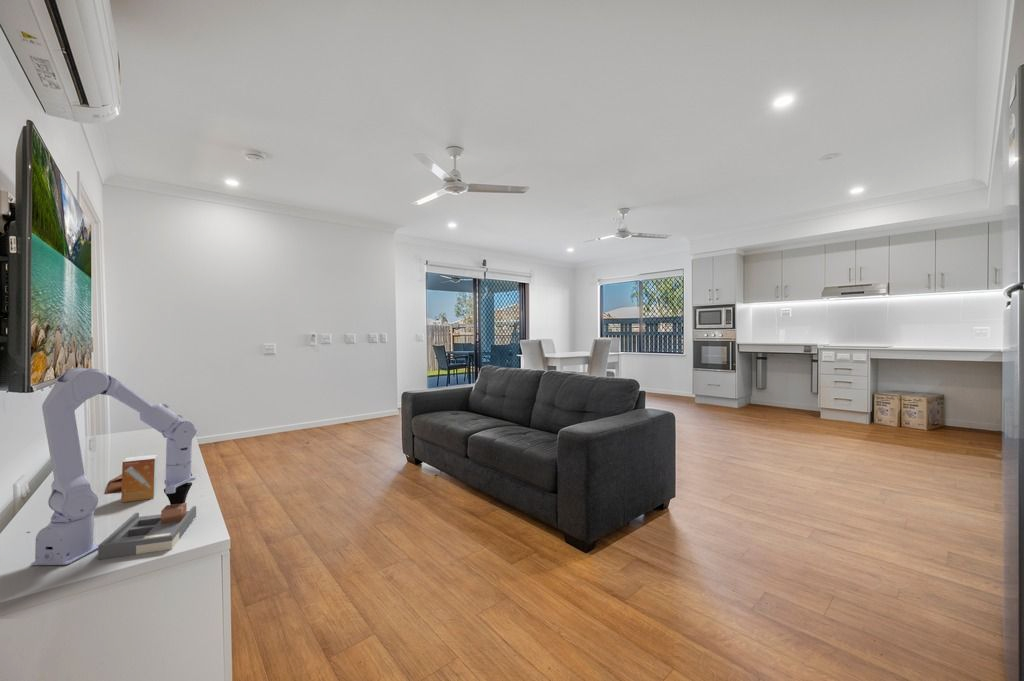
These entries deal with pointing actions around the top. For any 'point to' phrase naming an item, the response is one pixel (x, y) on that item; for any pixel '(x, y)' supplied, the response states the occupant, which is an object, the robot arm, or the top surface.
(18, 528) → the top surface
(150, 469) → the small box
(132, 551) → the grey divided tray
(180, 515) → the block
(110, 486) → the sunglasses case
